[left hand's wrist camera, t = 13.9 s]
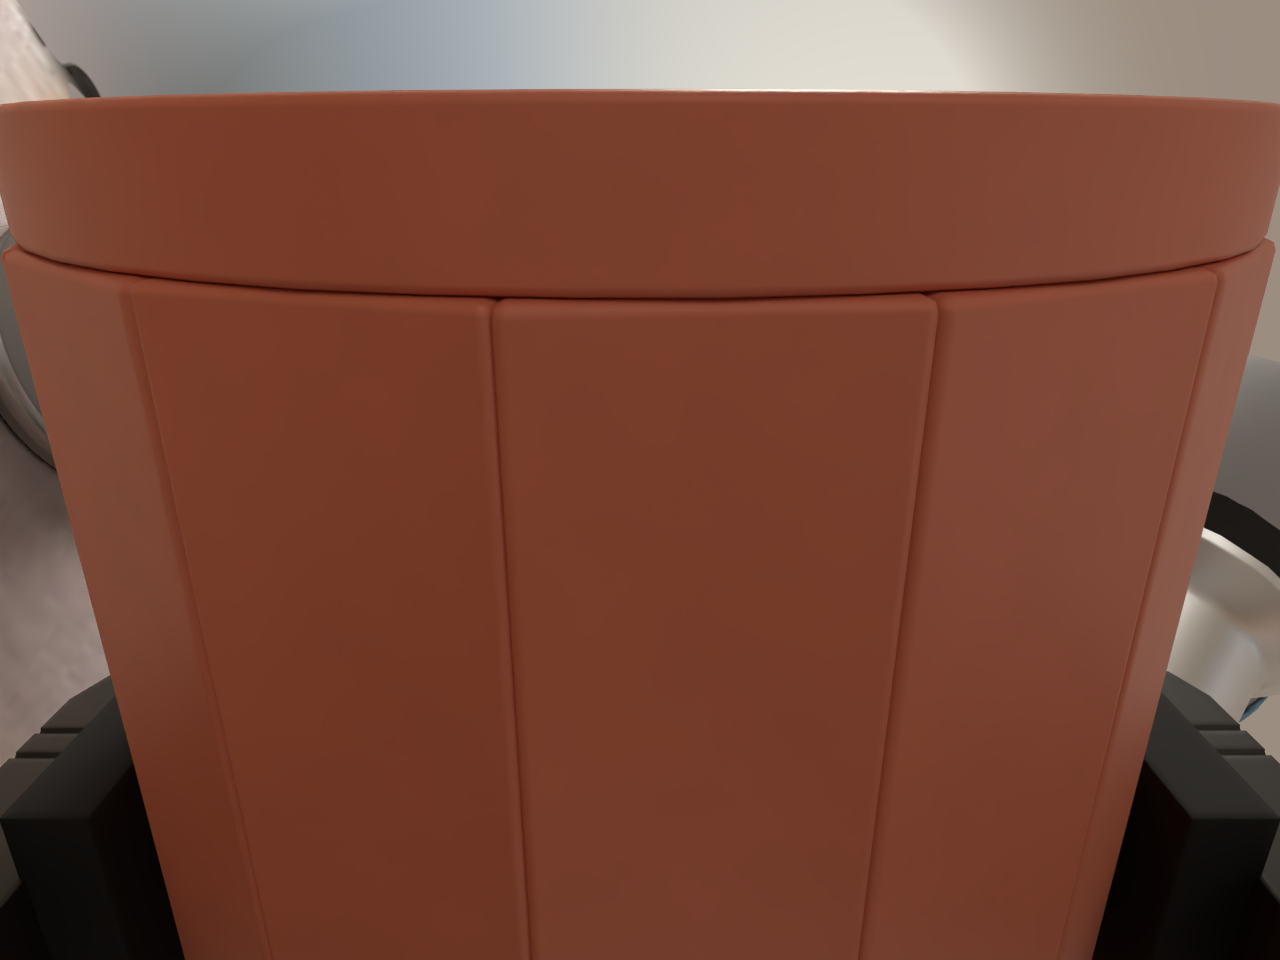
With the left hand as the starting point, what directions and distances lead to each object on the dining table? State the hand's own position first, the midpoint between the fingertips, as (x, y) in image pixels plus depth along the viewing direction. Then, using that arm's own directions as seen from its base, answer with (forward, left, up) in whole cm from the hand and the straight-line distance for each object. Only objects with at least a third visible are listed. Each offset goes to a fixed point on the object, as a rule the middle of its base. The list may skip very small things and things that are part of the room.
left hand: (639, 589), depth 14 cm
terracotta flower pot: (-6, -5, +2) cm, 8 cm away
